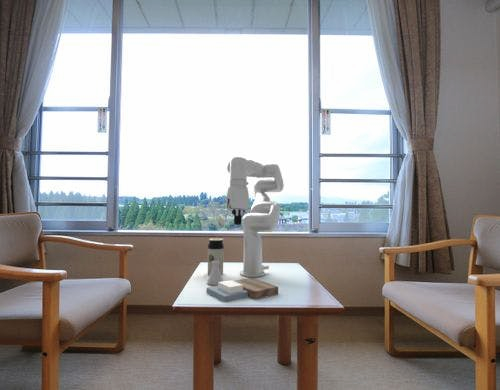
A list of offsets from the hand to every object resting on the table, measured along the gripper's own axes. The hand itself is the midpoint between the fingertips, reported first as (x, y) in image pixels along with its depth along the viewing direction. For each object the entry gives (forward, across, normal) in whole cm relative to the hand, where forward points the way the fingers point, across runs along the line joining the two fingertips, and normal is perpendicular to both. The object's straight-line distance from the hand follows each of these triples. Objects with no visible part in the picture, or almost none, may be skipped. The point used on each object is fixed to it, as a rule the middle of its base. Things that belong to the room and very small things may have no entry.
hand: (237, 224), depth 140 cm
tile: (+25, +11, +11) cm, 29 cm away
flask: (+27, +7, -7) cm, 29 cm away
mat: (+27, +12, +10) cm, 31 cm away
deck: (+27, 0, +12) cm, 30 cm away
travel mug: (+27, -3, -24) cm, 36 cm away
